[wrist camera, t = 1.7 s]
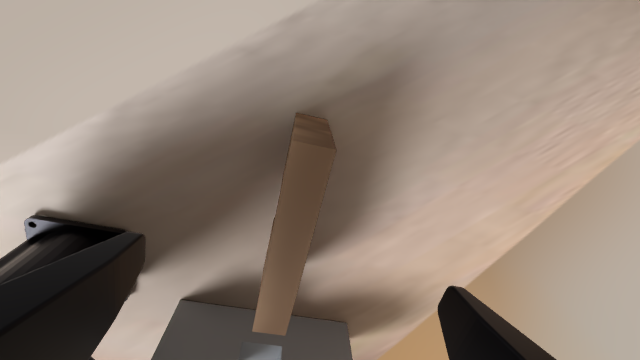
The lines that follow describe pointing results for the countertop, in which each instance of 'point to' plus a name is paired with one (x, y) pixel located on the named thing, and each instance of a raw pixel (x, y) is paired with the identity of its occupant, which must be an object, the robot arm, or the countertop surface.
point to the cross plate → (294, 221)
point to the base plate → (247, 336)
